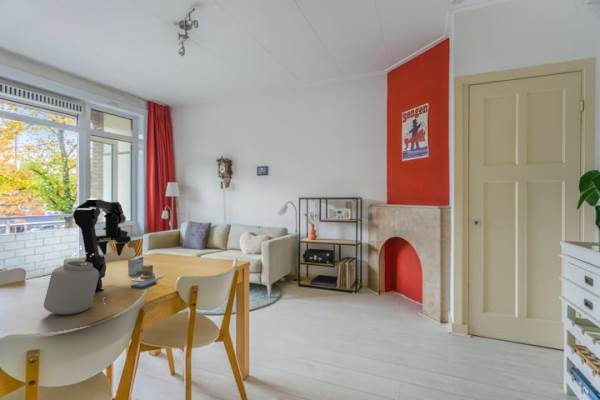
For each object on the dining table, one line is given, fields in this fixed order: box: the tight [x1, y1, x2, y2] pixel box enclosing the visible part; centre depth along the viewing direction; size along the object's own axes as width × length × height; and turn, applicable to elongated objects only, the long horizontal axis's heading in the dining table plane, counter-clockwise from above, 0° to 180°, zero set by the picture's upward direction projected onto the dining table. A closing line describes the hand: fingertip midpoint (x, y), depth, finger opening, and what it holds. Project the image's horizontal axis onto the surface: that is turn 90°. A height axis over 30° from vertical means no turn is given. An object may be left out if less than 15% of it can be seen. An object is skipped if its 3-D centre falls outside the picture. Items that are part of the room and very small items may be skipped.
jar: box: [43, 245, 106, 315], centre depth 111 cm, size 19×15×25 cm
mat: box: [130, 274, 165, 283], centre depth 154 cm, size 11×11×1 cm
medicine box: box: [127, 256, 144, 276], centre depth 165 cm, size 8×4×9 cm, turn 179°
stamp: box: [139, 264, 156, 279], centre depth 154 cm, size 5×5×7 cm
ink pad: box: [130, 280, 158, 290], centre depth 142 cm, size 9×7×1 cm
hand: (112, 255), depth 152 cm, fingers open, 9 cm apart
